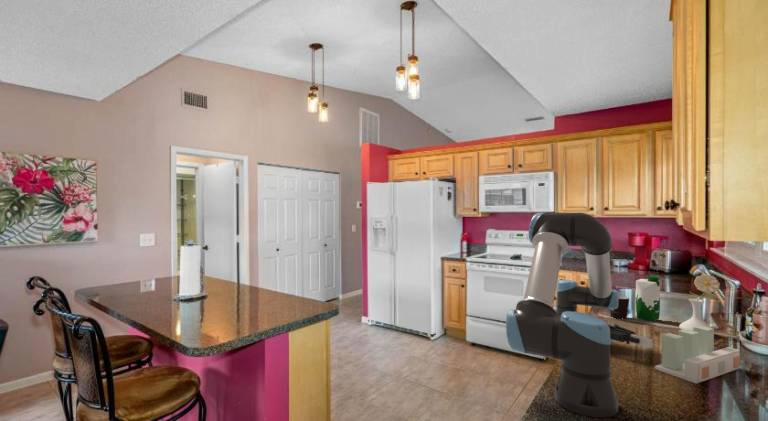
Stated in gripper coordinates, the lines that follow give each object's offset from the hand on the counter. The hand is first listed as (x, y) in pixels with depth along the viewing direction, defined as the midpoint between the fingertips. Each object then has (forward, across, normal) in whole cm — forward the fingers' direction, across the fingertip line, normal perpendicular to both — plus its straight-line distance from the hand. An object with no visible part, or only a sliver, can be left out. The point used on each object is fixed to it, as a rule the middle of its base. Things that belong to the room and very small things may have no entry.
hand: (651, 344), depth 128 cm
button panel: (+9, -9, -7) cm, 14 cm away
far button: (+7, -18, -5) cm, 20 cm away
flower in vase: (-10, -49, -7) cm, 50 cm away
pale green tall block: (+6, 0, -5) cm, 8 cm away
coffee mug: (-40, -42, -7) cm, 58 cm away
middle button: (+7, -9, -5) cm, 12 cm away
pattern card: (+15, -9, -6) cm, 19 cm away
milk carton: (-32, -52, -7) cm, 61 cm away
